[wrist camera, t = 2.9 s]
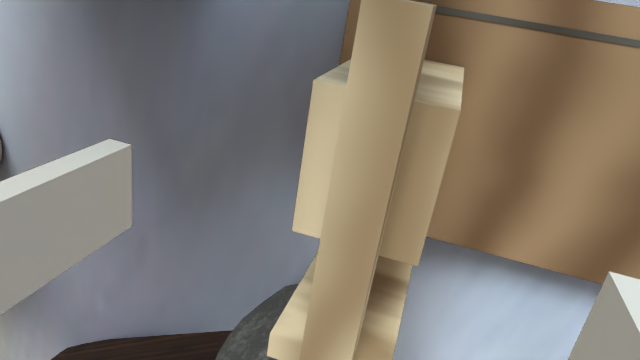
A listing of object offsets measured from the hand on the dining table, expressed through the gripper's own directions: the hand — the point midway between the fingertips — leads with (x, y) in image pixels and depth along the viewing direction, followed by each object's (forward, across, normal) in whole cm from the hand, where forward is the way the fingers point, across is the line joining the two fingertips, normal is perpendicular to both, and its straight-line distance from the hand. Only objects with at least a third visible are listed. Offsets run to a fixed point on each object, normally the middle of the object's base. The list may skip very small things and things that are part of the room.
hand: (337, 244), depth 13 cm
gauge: (+16, 0, -1) cm, 16 cm away
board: (+17, +6, 0) cm, 18 cm away
